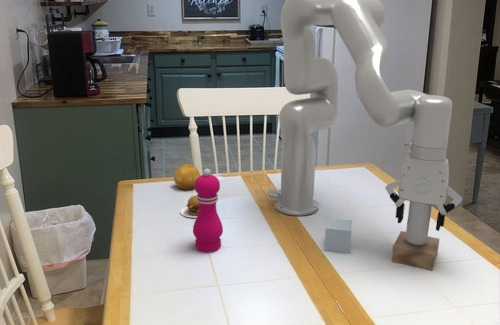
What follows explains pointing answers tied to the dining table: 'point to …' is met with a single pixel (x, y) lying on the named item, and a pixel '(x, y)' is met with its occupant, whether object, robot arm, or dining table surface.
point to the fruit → (186, 176)
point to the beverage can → (418, 223)
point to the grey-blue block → (338, 235)
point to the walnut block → (415, 252)
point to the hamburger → (191, 207)
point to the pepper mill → (207, 214)
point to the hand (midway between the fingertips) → (418, 224)
